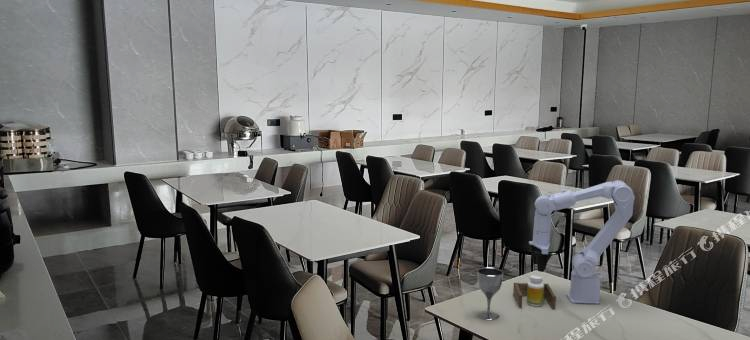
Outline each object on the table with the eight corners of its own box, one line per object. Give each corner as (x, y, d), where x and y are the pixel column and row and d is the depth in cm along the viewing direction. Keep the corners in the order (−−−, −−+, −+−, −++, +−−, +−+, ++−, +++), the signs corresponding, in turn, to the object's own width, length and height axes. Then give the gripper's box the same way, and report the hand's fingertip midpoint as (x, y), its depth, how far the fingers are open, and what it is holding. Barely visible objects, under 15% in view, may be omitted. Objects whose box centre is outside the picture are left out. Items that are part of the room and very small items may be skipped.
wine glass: (505, 315, 189) (507, 271, 187) (492, 322, 184) (494, 277, 181) (484, 308, 195) (486, 265, 192) (471, 315, 189) (472, 271, 186)
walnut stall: (547, 295, 206) (548, 283, 205) (555, 309, 194) (555, 296, 194) (513, 294, 207) (513, 282, 206) (518, 308, 195) (519, 295, 194)
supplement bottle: (543, 307, 196) (544, 280, 194) (526, 305, 197) (528, 278, 196) (542, 301, 201) (544, 274, 199) (526, 299, 202) (528, 273, 201)
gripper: (526, 224, 210) (523, 260, 212) (534, 235, 195) (531, 274, 198) (546, 225, 209) (543, 261, 212) (555, 236, 195) (552, 275, 197)
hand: (538, 267), depth 205 cm, fingers open, 7 cm apart
